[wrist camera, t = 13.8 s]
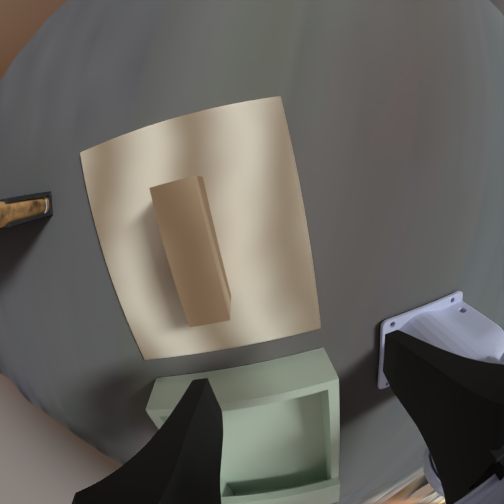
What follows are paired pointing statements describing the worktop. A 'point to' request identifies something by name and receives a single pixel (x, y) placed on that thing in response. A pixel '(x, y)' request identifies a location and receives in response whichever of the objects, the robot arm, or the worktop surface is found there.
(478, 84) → the worktop surface
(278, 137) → the lid
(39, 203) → the ammunition clip
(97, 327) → the worktop surface
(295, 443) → the flat box
